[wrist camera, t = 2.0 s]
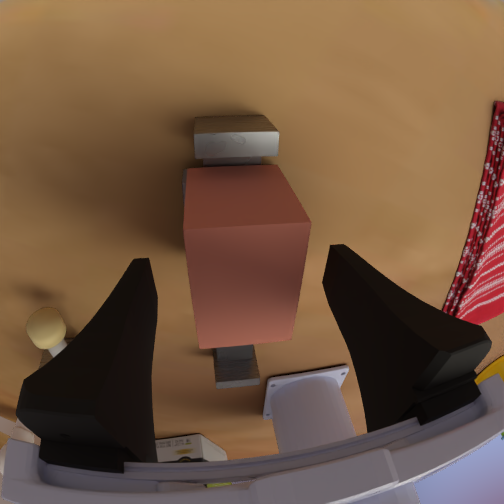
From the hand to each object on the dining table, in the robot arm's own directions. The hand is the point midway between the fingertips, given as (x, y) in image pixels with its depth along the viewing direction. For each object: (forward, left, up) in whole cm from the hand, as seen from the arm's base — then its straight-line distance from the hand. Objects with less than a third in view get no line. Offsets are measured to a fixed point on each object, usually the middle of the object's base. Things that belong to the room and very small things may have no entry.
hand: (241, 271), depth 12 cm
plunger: (-8, +12, -4) cm, 15 cm away
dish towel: (-2, -27, -6) cm, 28 cm away
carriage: (0, 0, -5) cm, 5 cm away
